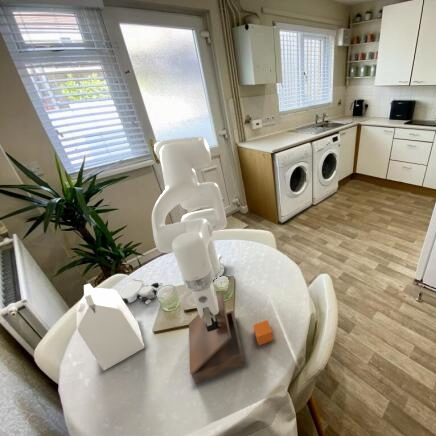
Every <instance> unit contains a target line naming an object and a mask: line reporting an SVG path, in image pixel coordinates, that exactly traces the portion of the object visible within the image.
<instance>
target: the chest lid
mask: <svg viewBox="0 0 436 436" xmlns="http://www.w3.org/2000/svg"><path fill="white" fill-rule="evenodd" d="M217 302H218V309H219V312H218V314H216V315H215V318H217V322H218V325H219V328H218V329H216V330H213V331H210V332H208V331H207V328H206V325H205V320H204V318H203V319H202V318H201V317H200V315H199V313H198V314H197V315H196V316H195V317H193V319H192V320H191V321H190V322H189V323H188V344H189V346H188V347H189V348H188V351H189V374H190V375H191V376H192V374H194V373H195V372H196V371H197V370H198V369H199V368H200V367H201V366H202V365H203V364H204V363H205V362H206V361H207V360H208V359H209V358H210V357H212V356H213V355H214V354H215V353H216V352H217V351H218V350H219V349H220V348H221V347H222V346H223V345H224V344H225V343H226V342H227V341H228V340H230V339H231V335H230V329H229V324H228V319H227V314H226V313H227V309H226V304H225V299H224V293H223V292H220V293H218V294H217ZM210 316H211V318H213V316H212V315H210Z"/></svg>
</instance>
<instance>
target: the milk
mask: <svg viewBox="0 0 436 436" xmlns="http://www.w3.org/2000/svg"><path fill="white" fill-rule="evenodd" d="M118 293H119V291H118V290H116V289H113V288H103V287H102V288H100V287H93V286H92V285H91V283H86V284H84V285H83V296H82V297H81V299H80V300H79V302H78V303H77V305H76V308H75V312H76V313H75V315H76V316H75V317H76V319H75V320H76V329H77V332H78V334H79V335H80V337H81V339H82V340H83V342H84V343H85V345H86V346H87V348H88V349H89V351H90V352H91V354H92V355H93V357H94V358H95V360H96V361H97V363H98V364H99V366H100V367H101V369H102V370H103V371H107V370H108V369H110V368H111V367H113V366H115V365H116V364H118V363H120V362H122V361H124V360H125V359H127V358H130V356H132V355H135V354H136V353H138V352H139V351H141V350H143V349H145V343H144V340H143V336H142V333H141V328H140V326H139V323H138V321H137V320H136V318H135V316H134V315H133V314H132V312H131V311H130V309H129V307H128V306H127V303H124V301H123V300H122V298H121V297H120V295H119V294H118Z"/></svg>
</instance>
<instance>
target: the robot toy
mask: <svg viewBox="0 0 436 436" xmlns="http://www.w3.org/2000/svg"><path fill="white" fill-rule="evenodd" d="M130 280H131V281H129V282H128V283H126V284H125V285H123V287H121V288H120V290H119V291H118V294H119V295H120V297H121V298H122V300H123V301H124V303H125V304H131V303H133V302H135V301H136V300H137V299H138V300H140V301H141V302H142V303H143V304H145V305H149V304H150V303H151V302H152V301H151V300H150V299H154V298H155V297H156V296H157V295H156V292H157V293H158V288H159V287H162V286H163V282H154V283H152V284H151V285H145V283H144V282H143V280H140V279H135V278H130Z"/></svg>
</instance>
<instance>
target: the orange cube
mask: <svg viewBox="0 0 436 436" xmlns="http://www.w3.org/2000/svg"><path fill="white" fill-rule="evenodd" d="M252 325H253V331H254V335H255V338H256V339H255V340H256V342H257V345H258V346H261V345H263V344H267V343H268V342H271V341H273V340H274V338H273V337H274V336H273V331H272V327H271V326H270V322H269V320H268V319H266V320H263V321H260V322H257V323H255V324H252Z"/></svg>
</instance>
